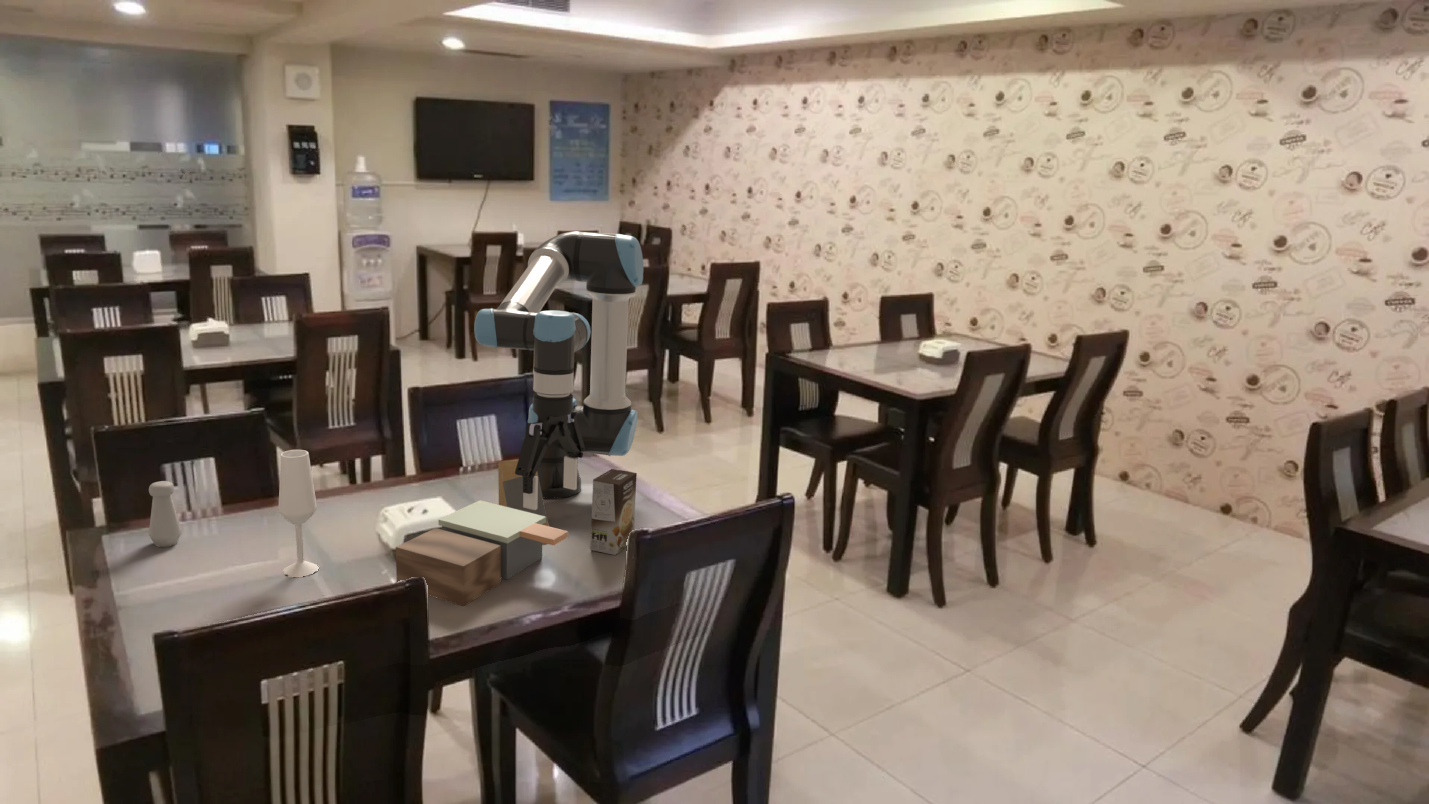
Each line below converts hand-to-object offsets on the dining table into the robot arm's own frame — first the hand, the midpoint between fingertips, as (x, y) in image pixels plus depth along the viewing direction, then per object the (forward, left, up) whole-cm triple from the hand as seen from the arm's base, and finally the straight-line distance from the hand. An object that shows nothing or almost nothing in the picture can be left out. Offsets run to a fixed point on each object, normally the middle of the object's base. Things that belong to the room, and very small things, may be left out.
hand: (550, 498), depth 179 cm
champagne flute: (+23, -42, -17) cm, 51 cm away
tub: (0, -14, -17) cm, 22 cm away
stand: (+13, -14, -17) cm, 25 cm away
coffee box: (-20, +3, -17) cm, 26 cm away
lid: (0, -10, -9) cm, 13 cm away
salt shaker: (+28, -74, -17) cm, 81 cm away
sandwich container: (-15, -17, -17) cm, 28 cm away
